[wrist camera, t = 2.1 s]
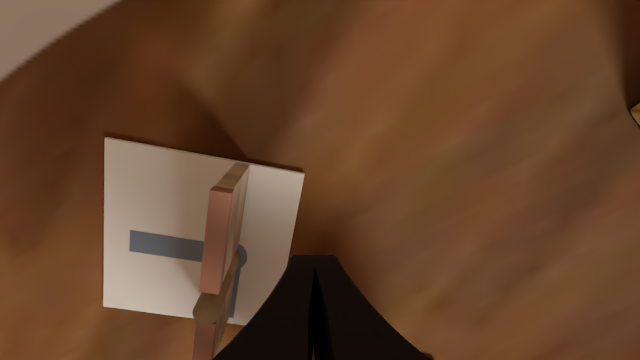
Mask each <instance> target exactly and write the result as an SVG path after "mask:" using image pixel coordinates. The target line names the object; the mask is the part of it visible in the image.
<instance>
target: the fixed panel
mask: <svg viewBox="0 0 640 360" xmlns="http://www.w3.org/2000/svg"><path fill="white" fill-rule="evenodd" d="M240 258H241V256H240V253H239V251H238V250H236V252H235V254H234V257H233V259H232V262H231V264H230V266H229V269H228V271H227V273H226V276H225V278H224V280H223V283H222V288H221V290H220V293H219V295H217V294H210V293H203V292H202V293H201V295H200V296H199V298H198V300H197V302H196V304H195V306H194V308H193V312H192V313H193V317H194V318H195V320H196V330H195V340H194V349H193V358H192V360H212V359H213V358H214V357H215V356H216V355H217V352H218V349H219V346H220V343H221V340H222V337H223V334H224V331H225V328H226V325H227V322H228V319H229V312H230V305H231V298H232V291H233V284H234V277H235V272H236V269H237V266H238V264H239V261H240Z"/></svg>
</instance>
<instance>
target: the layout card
mask: <svg viewBox="0 0 640 360" xmlns="http://www.w3.org/2000/svg"><path fill="white" fill-rule="evenodd" d="M235 163H242V164H247V165H250V170H249V177H248V184H247V191H246V198H245V205H244V212H243V219H242V226H241V233H240V240H239V245H238V247H237V250H238V251H239V253H240V256H241V258H240V261H239V264H238V266H237V269H236V272H235V277H234V284H233V291H232V298H231V305H230V312H229V319H228V322H227V323H231V324H239V325H246V324H247V323H248V322H249V321H250V320H251V318H252V317H253V316H254V315H255V313H256V312H257V311H258V310H259V308H260V307H261V306H262V304H263V303H264V302H265V300H266V299H267V298H268V296H269V295H270V294H271V292H272V291H273V289H274V287H275V286H276V284H277V283H278V281H279V280H280V278H281V276H282V275H283V273H284V271H285V269H286V267H287V263H288V258H289V253H290V247H291V242H292V237H293V232H294V227H295V222H296V216H297V211H298V206H299V201H300V196H301V191H302V185H303V180H304V175H305V173H303V172H298V171H292V170H287V169H281V168H276V167H270V166H265V165H259V164H254V163H248V162H243V161H237V160H232V159H226V158H221V157H215V156H210V155H204V154H199V153H193V152H188V151H182V150H177V149H171V148H166V147H160V146H155V145H149V144H144V143H138V142H133V141H127V140H122V139H116V138H111V137H106V138H105V148H104V285H103V306H105V307H112V308H120V309H127V310H134V311H142V312H149V313H157V314H164V315H172V316H179V317H187V318H194V317H193V313H192V312H193V308H194V306H195V304H196V302H197V300H198V298H199V296H200V295H201V293H202V292H199V285H200V276H201V267H202V257H203V248H204V239H205V229H206V220H207V210H208V201H209V192H210V189H211V188H212V187H213V186H215V185H216V184H217V183H218V182H219V181H220V180H221V178H222V177H223V176H224V175H225V174H226V173H227V172H228V171H229V169H230V168H231V167H232V166H233V165H234V164H235ZM194 319H195V318H194Z"/></svg>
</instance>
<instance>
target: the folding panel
mask: <svg viewBox="0 0 640 360" xmlns="http://www.w3.org/2000/svg"><path fill="white" fill-rule="evenodd" d="M249 170H250V165H247V164H242V163H235V164H234V165H233V166H232V167H231V168H230V169H229V171H228V172H227V173H226V174H225V175H224V176H223V177H222V178H221V180H220V181H219V182H218V183H217V184H216V185H215V186H213V187H212V188H211V189H210V192H209V201H208V210H207V220H206V229H205V239H204V248H203V257H202V267H201V276H200V285H199V292H203V293H210V294H217V295H219V293H220V290H221V288H222V283H223V280H224V278H225V276H226V273H227V271H228V269H229V266H230V264H231V262H232V259H233V257H234V254H235V252H236V250H237V247H238V245H239V240H240V233H241V226H242V219H243V212H244V205H245V198H246V191H247V184H248V177H249Z"/></svg>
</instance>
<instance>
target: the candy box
mask: <svg viewBox="0 0 640 360" xmlns="http://www.w3.org/2000/svg"><path fill="white" fill-rule="evenodd" d="M630 112H631V114H632V116H633V117H634V119H635V120H636V122H637V123H638V124H639V126H640V103H639V104H637V105H636V106H634V107H633V108H632V109H631V110H630Z"/></svg>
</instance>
